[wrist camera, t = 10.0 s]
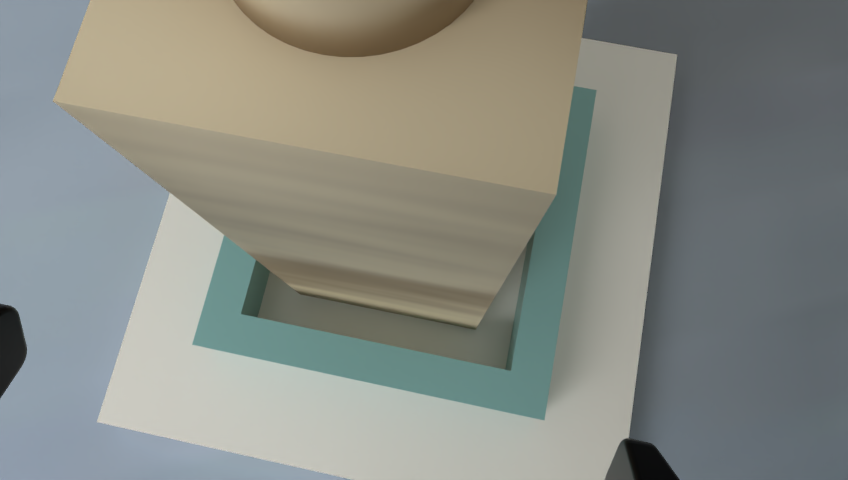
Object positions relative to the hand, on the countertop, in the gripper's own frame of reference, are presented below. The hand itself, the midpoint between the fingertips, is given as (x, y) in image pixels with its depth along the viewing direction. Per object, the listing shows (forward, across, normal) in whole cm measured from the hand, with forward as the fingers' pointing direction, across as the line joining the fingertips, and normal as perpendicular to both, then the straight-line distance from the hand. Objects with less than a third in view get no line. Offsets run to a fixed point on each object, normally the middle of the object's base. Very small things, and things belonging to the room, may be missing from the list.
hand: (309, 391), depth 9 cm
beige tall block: (+9, 0, +2) cm, 9 cm away
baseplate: (+10, 0, +3) cm, 10 cm away
